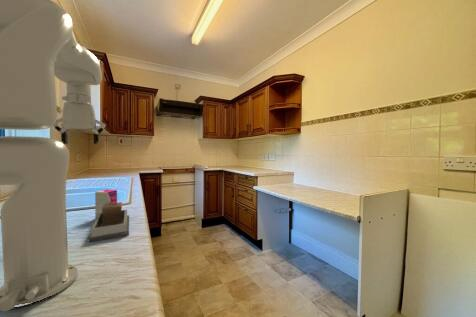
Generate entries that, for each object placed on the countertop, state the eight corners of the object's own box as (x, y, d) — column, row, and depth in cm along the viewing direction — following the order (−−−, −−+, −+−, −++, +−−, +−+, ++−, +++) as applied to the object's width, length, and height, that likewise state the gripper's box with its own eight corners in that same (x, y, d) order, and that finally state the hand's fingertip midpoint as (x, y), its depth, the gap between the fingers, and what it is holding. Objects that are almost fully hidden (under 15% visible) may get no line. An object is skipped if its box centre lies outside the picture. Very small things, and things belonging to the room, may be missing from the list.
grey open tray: (128, 235, 68) (128, 213, 68) (88, 242, 63) (88, 218, 62) (129, 218, 84) (128, 201, 83) (97, 223, 79) (96, 204, 78)
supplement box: (107, 219, 83) (106, 192, 82) (94, 218, 84) (94, 191, 83) (118, 215, 88) (117, 189, 88) (106, 214, 89) (105, 188, 89)
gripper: (47, 96, 73) (49, 143, 73) (104, 101, 81) (105, 144, 81) (54, 100, 79) (55, 143, 80) (106, 105, 87) (107, 144, 88)
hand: (80, 143), depth 81 cm, fingers open, 9 cm apart
